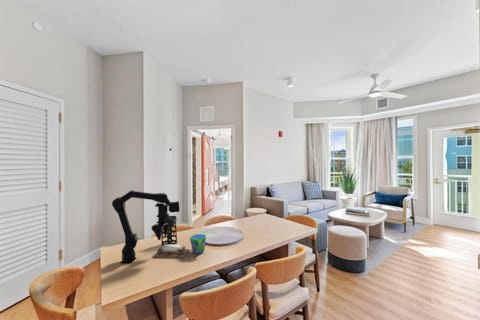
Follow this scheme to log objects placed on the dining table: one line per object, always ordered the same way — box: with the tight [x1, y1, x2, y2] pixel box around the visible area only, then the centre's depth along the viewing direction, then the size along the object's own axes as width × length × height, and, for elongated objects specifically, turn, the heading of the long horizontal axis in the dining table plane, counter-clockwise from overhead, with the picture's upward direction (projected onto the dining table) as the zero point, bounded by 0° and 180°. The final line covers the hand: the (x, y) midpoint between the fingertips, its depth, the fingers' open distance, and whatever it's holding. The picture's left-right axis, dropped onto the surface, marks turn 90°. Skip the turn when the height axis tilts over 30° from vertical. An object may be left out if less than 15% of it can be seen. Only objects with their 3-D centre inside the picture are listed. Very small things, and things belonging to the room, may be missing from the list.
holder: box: [160, 215, 178, 246], centre depth 158 cm, size 11×8×20 cm
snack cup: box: [189, 233, 207, 255], centre depth 141 cm, size 16×10×10 cm
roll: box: [163, 244, 180, 252], centre depth 139 cm, size 10×4×4 cm, turn 86°
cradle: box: [152, 245, 190, 259], centre depth 139 cm, size 20×11×4 cm, turn 86°
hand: (162, 237), depth 137 cm, fingers open, 9 cm apart
